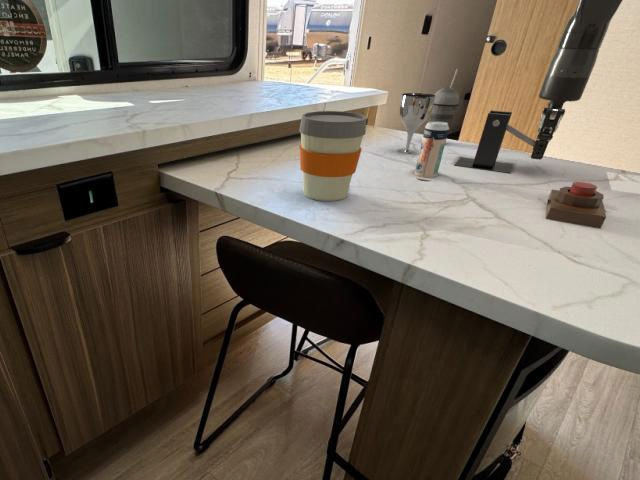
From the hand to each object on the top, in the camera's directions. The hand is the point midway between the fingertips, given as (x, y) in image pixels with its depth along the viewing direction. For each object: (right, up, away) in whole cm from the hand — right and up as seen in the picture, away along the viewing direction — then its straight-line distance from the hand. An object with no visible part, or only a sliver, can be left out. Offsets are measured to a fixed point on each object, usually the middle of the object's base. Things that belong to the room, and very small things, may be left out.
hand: (536, 154), depth 94 cm
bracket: (-8, -1, +7) cm, 11 cm away
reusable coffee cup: (-50, -11, -8) cm, 52 cm away
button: (-6, -14, -19) cm, 24 cm away
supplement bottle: (-25, -6, +1) cm, 26 cm away
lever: (-5, +4, +1) cm, 6 cm away
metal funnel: (-23, +5, +17) cm, 29 cm away
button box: (-6, -17, -17) cm, 25 cm away
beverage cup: (-11, +11, +26) cm, 31 cm away
